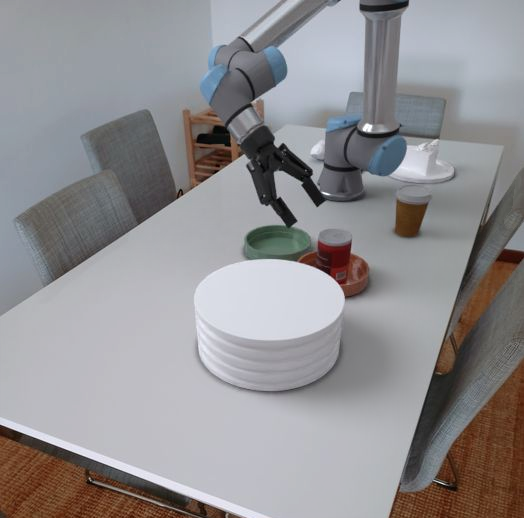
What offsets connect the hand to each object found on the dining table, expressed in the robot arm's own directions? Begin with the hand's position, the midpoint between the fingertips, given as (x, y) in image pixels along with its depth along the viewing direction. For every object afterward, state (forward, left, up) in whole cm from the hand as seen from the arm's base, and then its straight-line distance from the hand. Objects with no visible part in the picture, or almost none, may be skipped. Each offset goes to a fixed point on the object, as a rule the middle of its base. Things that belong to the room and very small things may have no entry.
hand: (308, 214), depth 116 cm
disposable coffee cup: (-36, +7, -15) cm, 40 cm away
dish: (-83, -16, -15) cm, 86 cm away
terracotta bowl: (-1, +7, -15) cm, 16 cm away
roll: (-74, -51, -11) cm, 91 cm away
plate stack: (+28, +13, -15) cm, 34 cm away
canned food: (-1, +7, -14) cm, 16 cm away
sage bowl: (-3, -12, -15) cm, 19 cm away
